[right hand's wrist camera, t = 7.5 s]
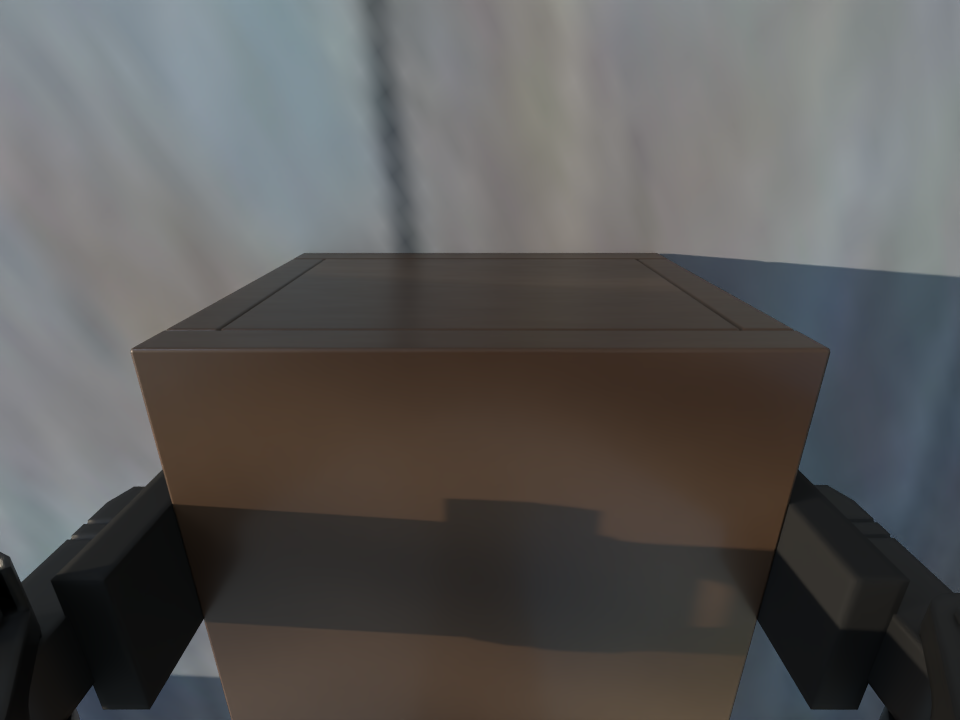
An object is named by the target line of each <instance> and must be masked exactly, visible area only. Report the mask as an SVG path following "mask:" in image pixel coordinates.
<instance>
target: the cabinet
mask: <svg viewBox="0 0 960 720" xmlns="http://www.w3.org/2000/svg"><path fill="white" fill-rule="evenodd" d="M131 355H132V359H133V362H134V366H135V370H136V373H137V377H138V381H139V384H140V388H141V392H142V395H143V399H144V402H145V406H146V410H147V413H148V417H149V421H150V424H151V428H152V432H153V435H154V439H155V443H156V446H157V450H158V454H159V457H160V461H161V464H162V468H163V472H164V475H165V479H166V483H167V486H168V490H169V494H170V497H171V501H172V505H173V508H174V512H175V515H176V519H177V523H178V526H179V530H180V534H181V537H182V541H183V545H184V548H185V552H186V556H187V559H188V563H189V566H190V570H191V574H192V577H193V581H194V585H195V588H196V592H197V596H198V599H199V603H200V607H201V610H202V614H203V618H204V621H205V625H206V628H207V632H208V636H209V639H210V643H211V647H212V650H213V654H214V658H215V661H216V665H217V669H218V672H219V676H220V679H221V683H222V687H223V690H224V694H225V698H226V701H227V705H228V709H229V712H230V716H231V720H729V719H730V716H731V712H732V709H733V705H734V701H735V698H736V694H737V690H738V687H739V683H740V679H741V676H742V672H743V668H744V665H745V661H746V657H747V654H748V650H749V647H750V643H751V639H752V636H753V632H754V628H755V625H756V621H757V617H758V614H759V610H760V606H761V603H762V599H763V596H764V592H765V588H766V585H767V581H768V577H769V574H770V570H771V566H772V563H773V559H774V555H775V552H776V548H777V544H778V541H779V537H780V534H781V530H782V526H783V523H784V519H785V515H786V512H787V508H788V504H789V501H790V497H791V493H792V490H793V486H794V483H795V479H796V475H797V472H798V468H799V464H800V461H801V457H802V453H803V450H804V446H805V442H806V439H807V435H808V431H809V428H810V424H811V421H812V417H813V413H814V410H815V406H816V402H817V399H818V395H819V391H820V388H821V384H822V380H823V377H824V373H825V369H826V366H827V362H828V359H829V355H830V349H829V348H827V347H825V346H823V345H822V344H820V343H818V342H816V341H814V340H813V339H811V338H809V337H807V336H805V335H804V334H802V333H800V332H798V331H794V330H793V329H792V328H790V327H788V326H786V325H785V324H783V323H781V322H779V321H777V320H776V319H774V318H772V317H770V316H768V315H767V314H765V313H763V312H761V311H759V310H758V309H756V308H754V307H752V306H751V305H749V304H747V303H745V302H743V301H742V300H740V299H738V298H736V297H734V296H733V295H731V294H729V293H727V292H725V291H724V290H722V289H720V288H718V287H716V286H715V285H713V284H711V283H709V282H707V281H706V280H704V279H702V278H700V277H698V276H697V275H695V274H693V273H691V272H690V271H688V270H686V269H684V268H682V267H681V266H679V265H677V264H675V263H673V262H672V261H670V260H668V259H667V258H665V257H663V256H661V255H659V254H657V253H304V254H302V255H300V256H298V257H296V258H295V259H293V260H291V261H289V262H288V263H286V264H284V265H282V266H280V267H279V268H277V269H275V270H273V271H271V272H270V273H268V274H266V275H264V276H262V277H261V278H259V279H257V280H255V281H253V282H252V283H250V284H248V285H246V286H244V287H243V288H241V289H239V290H237V291H235V292H234V293H232V294H230V295H228V296H226V297H224V298H223V299H221V300H219V301H217V302H215V303H214V304H212V305H210V306H208V307H206V308H205V309H203V310H201V311H199V312H197V313H196V314H194V315H192V316H190V317H188V318H187V319H185V320H183V321H181V322H179V323H178V324H176V325H174V326H172V327H170V328H169V329H167V331H163V332H161V333H159V334H157V335H155V336H154V337H152V338H150V339H148V340H146V341H145V342H143V343H141V344H139V345H137V346H136V347H134V348H132V349H131Z"/></svg>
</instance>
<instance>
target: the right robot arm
mask: <svg viewBox="0 0 960 720" xmlns="http://www.w3.org/2000/svg"><path fill="white" fill-rule="evenodd" d="M203 619H204V618H203V614H202V610H201V607H200V603H199V599H198V596H197V592H196V588H195V585H194V581H193V577H192V574H191V570H190V566H189V563H188V559H187V556H186V552H185V548H184V545H183V541H182V537H181V534H180V530H179V526H178V523H177V519H176V515H175V512H174V508H173V505H172V501H171V497H170V494H169V490H168V486H167V483H166V479H165V475H164V472H163V470H162V471H161V472H160V473H159V474H158V475H157V476H156V477H155V478H154V479H153V480H152V481H151V482H150V483H149V484H148V485H147V486H145V487H133V488H131V489H129V490H128V491H126V492H124V493H123V494H121V495H119V496H117V497H116V498H114V499H112V500H111V501H109V502H107V503H106V504H105V505H104V506H103V507H102V508H101V509H100V510H99V511H98V512H97V513H95V514H94V515H93V516H92V517H91V518H90V519H89V520H88V523H87V524H84V525H83V526H81V527H80V528H79V529H78V530H77V531H76V532H75V533H74V534H73V535H72V538H71V540H66V541H65V542H64V543H63V544H62V545H61V546H60V547H59V548H58V549H57V550H56V551H55V552H54V553H52V554H51V555H50V556H49V557H48V558H47V559H46V560H45V561H44V562H43V563H42V564H41V565H40V566H38V567H37V568H36V569H35V570H34V571H33V572H32V573H31V574H30V575H29V576H28V577H27V578H26V579H24V580H23V581H22V582H21V581H20V579H19V577H18V575H17V572H16V570H15V568H14V565H13V563H12V561H11V559H10V557H9V556H7V555H5V554H3V553H1V552H0V720H80V718H79V714H78V712H77V710H76V707H77V706H78V704H79V703H80V702H81V700H82V699H83V698H84V696H85V695H86V693H87V692H88V691H89V689H90V688H91V687H92V685H93V686H94V688H95V691H96V693H97V696H98V698H99V701H100V703H101V706H102V708H103V709H150V708H151V706H152V705H153V703H154V701H155V700H156V698H157V696H158V695H159V693H160V691H161V690H162V688H163V686H164V685H165V683H166V681H167V679H168V678H169V676H170V674H171V673H172V671H173V669H174V668H175V666H176V664H177V663H178V661H179V659H180V658H181V656H182V654H183V653H184V651H185V649H186V648H187V646H188V644H189V643H190V641H191V639H192V638H193V636H194V634H195V633H196V631H197V629H198V628H199V626H200V624H201V623H202V621H203ZM757 620H758V622H759V623H760V625H761V627H762V628H763V630H764V632H765V633H766V635H767V637H768V638H769V640H770V642H771V643H772V645H773V647H774V648H775V650H776V652H777V653H778V655H779V657H780V658H781V660H782V662H783V663H784V665H785V667H786V669H787V670H788V672H789V674H790V675H791V677H792V679H793V680H794V682H795V684H796V685H797V687H798V689H799V690H800V692H801V694H802V695H803V697H804V699H805V700H806V702H807V704H808V705H809V707H810V709H836V710H858V707H859V705H860V702H861V700H862V698H863V695H864V693H865V690H866V688H867V685H868V683H869V684H870V686H871V687H872V688H873V690H874V691H875V693H876V694H877V695H878V697H879V698H880V699H881V701H882V702H883V703H884V705H885V707H884V710H883V712H882V714H881V716H880V719H879V720H960V593H953V592H952V591H951V590H950V589H949V588H948V587H947V586H946V585H944V584H943V583H942V582H941V581H940V580H939V579H938V578H937V577H936V576H935V575H934V574H933V573H931V572H930V571H929V570H928V569H927V568H926V567H925V566H924V565H923V564H922V563H921V562H920V561H918V560H917V559H916V558H915V557H914V556H913V555H912V554H911V553H910V552H909V551H908V550H907V549H906V548H904V547H903V546H902V545H901V544H900V543H899V542H898V541H897V540H896V539H895V538H891V537H890V534H889V533H888V532H887V531H886V530H885V529H884V528H883V527H882V526H881V525H880V524H878V523H877V522H874V521H873V518H872V517H871V516H870V515H869V514H868V513H867V512H865V511H864V510H863V509H862V508H861V507H860V506H859V505H858V504H857V503H856V502H855V501H853V500H852V499H850V498H848V497H847V496H845V495H843V494H841V493H840V492H838V491H836V490H835V489H833V488H831V487H829V486H828V485H813V484H812V483H811V482H810V481H809V480H808V479H807V478H806V477H805V476H804V475H803V474H802V473H801V472H800V471H799V470H798V472H797V475H796V479H795V483H794V486H793V490H792V493H791V497H790V501H789V504H788V508H787V512H786V515H785V519H784V523H783V526H782V530H781V534H780V537H779V541H778V544H777V548H776V552H775V555H774V559H773V563H772V566H771V570H770V574H769V577H768V581H767V585H766V588H765V592H764V596H763V599H762V603H761V606H760V610H759V614H758V617H757Z"/></svg>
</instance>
